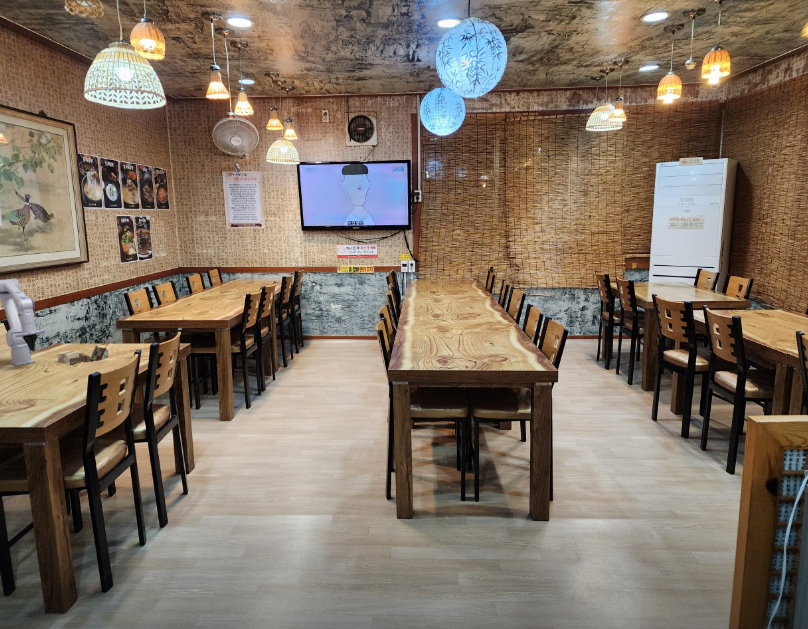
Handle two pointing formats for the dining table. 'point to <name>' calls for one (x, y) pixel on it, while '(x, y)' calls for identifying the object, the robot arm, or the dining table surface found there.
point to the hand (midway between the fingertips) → (31, 349)
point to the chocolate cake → (99, 353)
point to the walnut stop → (79, 359)
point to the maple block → (67, 356)
